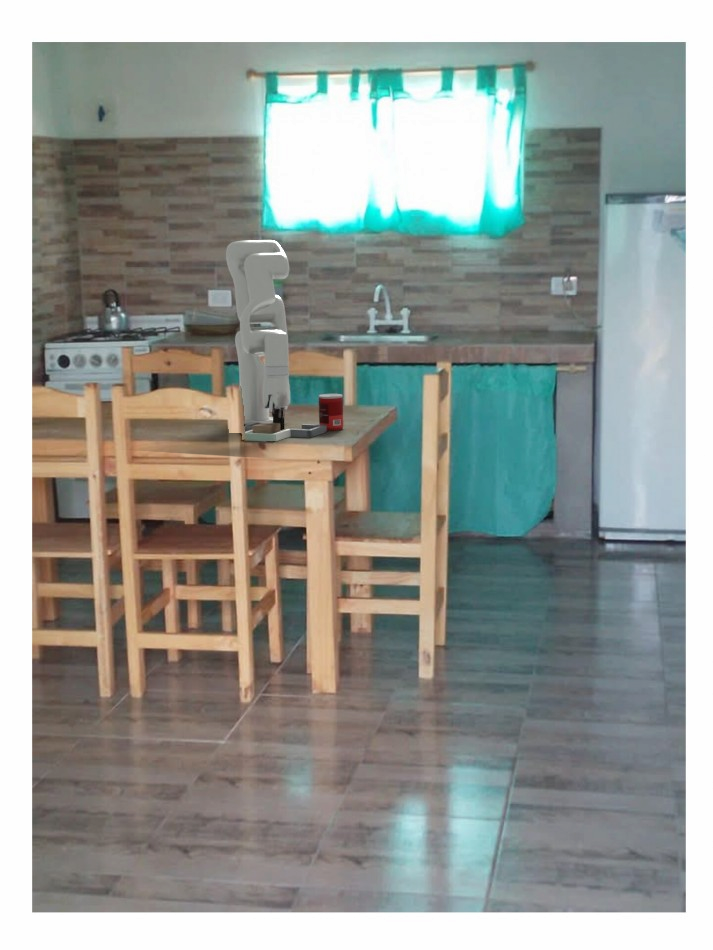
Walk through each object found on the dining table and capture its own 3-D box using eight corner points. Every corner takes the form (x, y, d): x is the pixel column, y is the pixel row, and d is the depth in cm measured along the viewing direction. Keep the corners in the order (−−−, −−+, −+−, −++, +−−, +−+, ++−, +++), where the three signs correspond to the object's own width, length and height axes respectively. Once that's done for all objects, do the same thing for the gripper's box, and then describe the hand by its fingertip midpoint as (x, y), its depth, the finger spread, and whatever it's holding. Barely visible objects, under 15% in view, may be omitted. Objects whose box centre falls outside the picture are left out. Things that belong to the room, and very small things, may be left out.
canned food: (346, 427, 404) (345, 393, 402) (339, 431, 397) (338, 396, 395) (323, 427, 407) (322, 393, 404) (316, 430, 399) (315, 396, 397)
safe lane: (258, 434, 393) (258, 427, 392) (290, 436, 388) (290, 429, 388) (241, 440, 383) (240, 433, 382) (274, 441, 378) (273, 434, 378)
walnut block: (263, 435, 393) (263, 422, 392) (280, 435, 391) (280, 423, 390) (252, 438, 387) (252, 425, 386) (269, 439, 384) (269, 426, 384)
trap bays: (256, 428, 406) (256, 421, 405) (326, 431, 396) (326, 425, 395) (239, 433, 396) (239, 426, 395) (311, 437, 386) (310, 430, 385)
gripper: (277, 369, 398) (279, 426, 401) (255, 373, 384) (257, 432, 388) (298, 369, 395) (300, 427, 398) (277, 374, 381) (278, 433, 385)
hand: (278, 429), depth 393 cm, fingers closed
